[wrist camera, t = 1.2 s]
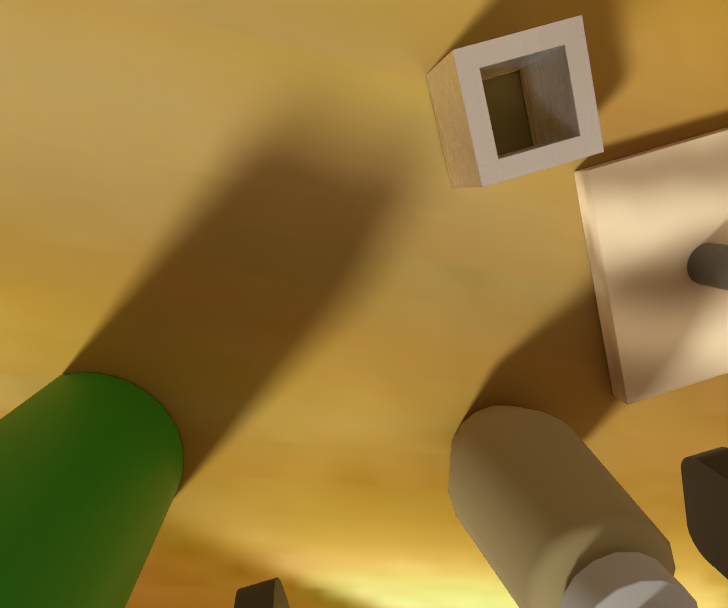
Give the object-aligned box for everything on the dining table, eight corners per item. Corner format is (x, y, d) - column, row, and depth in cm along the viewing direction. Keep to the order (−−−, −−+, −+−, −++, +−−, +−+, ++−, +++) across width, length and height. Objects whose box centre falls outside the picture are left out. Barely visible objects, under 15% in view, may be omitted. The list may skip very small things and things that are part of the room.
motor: (-2, 380, 28) (-665, 790, 9) (170, 362, 29) (-90, 699, 10) (37, 546, 30) (-428, 1171, 11) (195, 525, 31) (25, 1067, 12)
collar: (425, 75, 28) (452, 49, 23) (533, 45, 28) (581, 14, 23) (451, 188, 29) (482, 186, 24) (553, 158, 29) (604, 151, 25)
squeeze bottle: (453, 373, 31) (648, 600, 14) (574, 400, 33) (893, 639, 15) (415, 494, 33) (550, 842, 15) (534, 516, 34) (783, 858, 16)
